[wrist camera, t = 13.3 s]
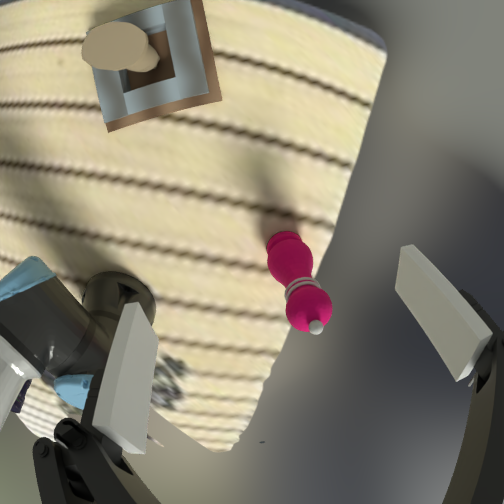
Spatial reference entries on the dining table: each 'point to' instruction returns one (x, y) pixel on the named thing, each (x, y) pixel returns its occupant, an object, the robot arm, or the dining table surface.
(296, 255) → the pepper mill
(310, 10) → the dining table surface
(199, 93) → the frame
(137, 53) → the handle
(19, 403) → the storage jar
